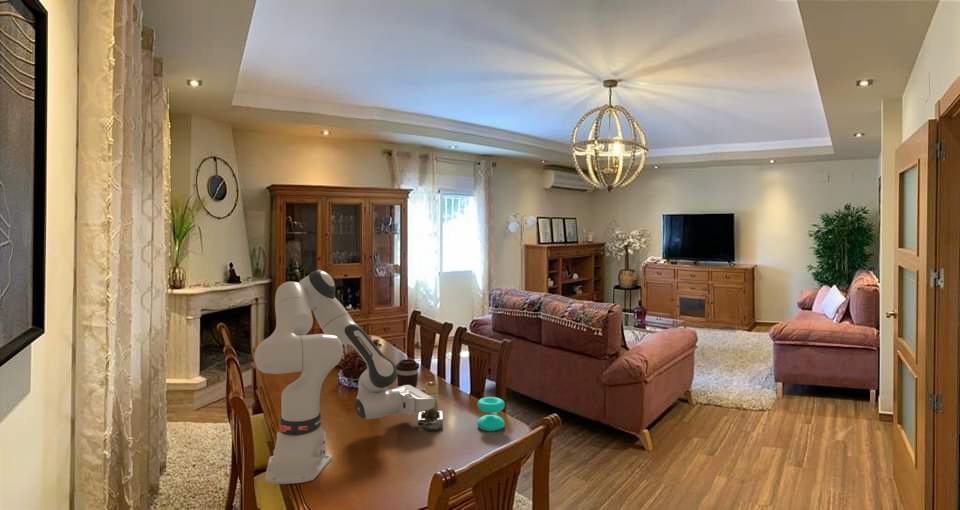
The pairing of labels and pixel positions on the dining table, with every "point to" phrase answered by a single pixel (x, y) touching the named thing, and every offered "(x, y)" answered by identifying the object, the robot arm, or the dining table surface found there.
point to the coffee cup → (407, 372)
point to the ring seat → (427, 419)
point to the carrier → (433, 425)
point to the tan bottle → (433, 388)
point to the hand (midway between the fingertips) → (432, 393)
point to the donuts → (491, 407)
